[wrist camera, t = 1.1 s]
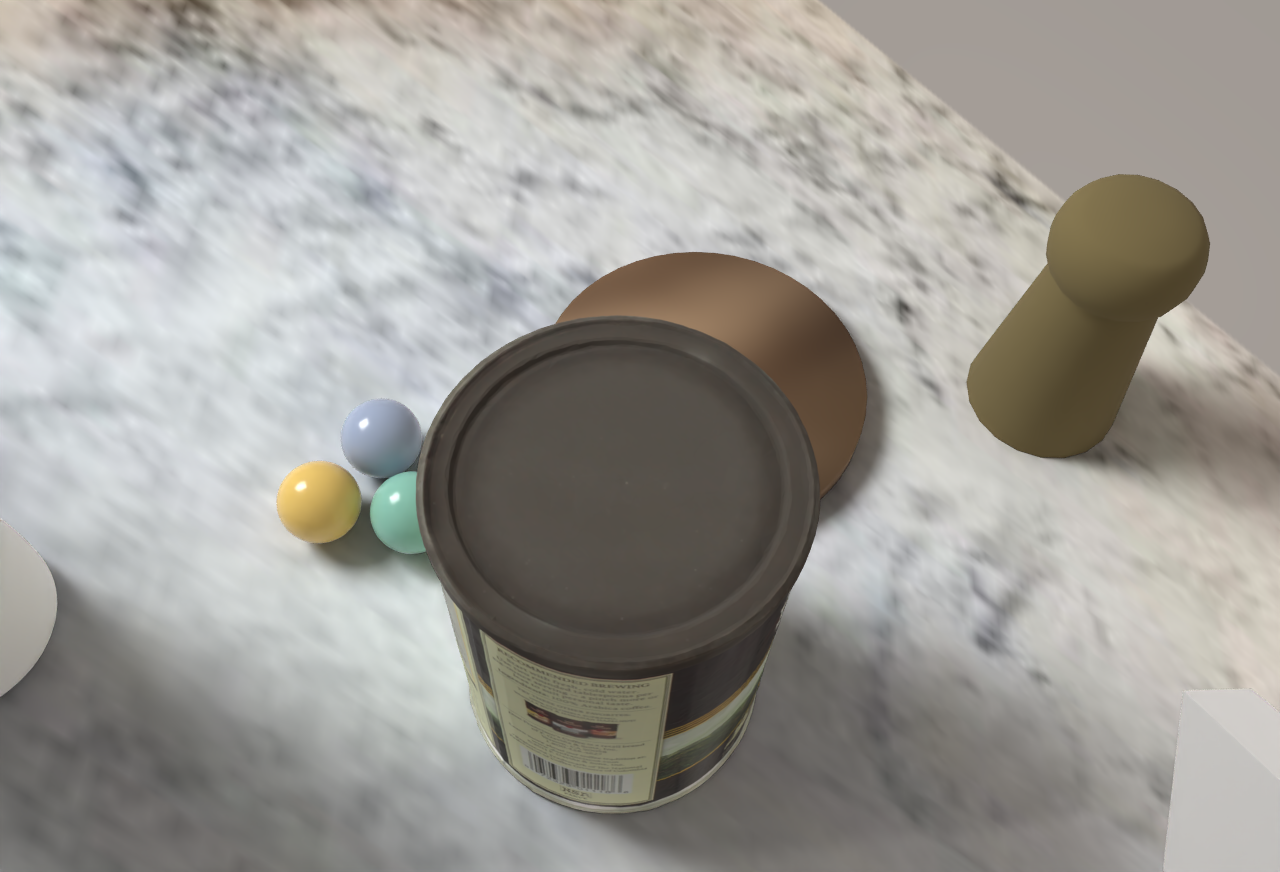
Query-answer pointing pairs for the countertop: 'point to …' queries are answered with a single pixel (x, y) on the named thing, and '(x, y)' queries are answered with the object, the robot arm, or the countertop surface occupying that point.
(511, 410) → the coffee can
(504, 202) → the countertop surface
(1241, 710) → the robot arm
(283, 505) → the marble amber
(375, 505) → the marble green
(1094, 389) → the cork
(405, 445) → the marble blue
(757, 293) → the trivet
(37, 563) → the water bottle
